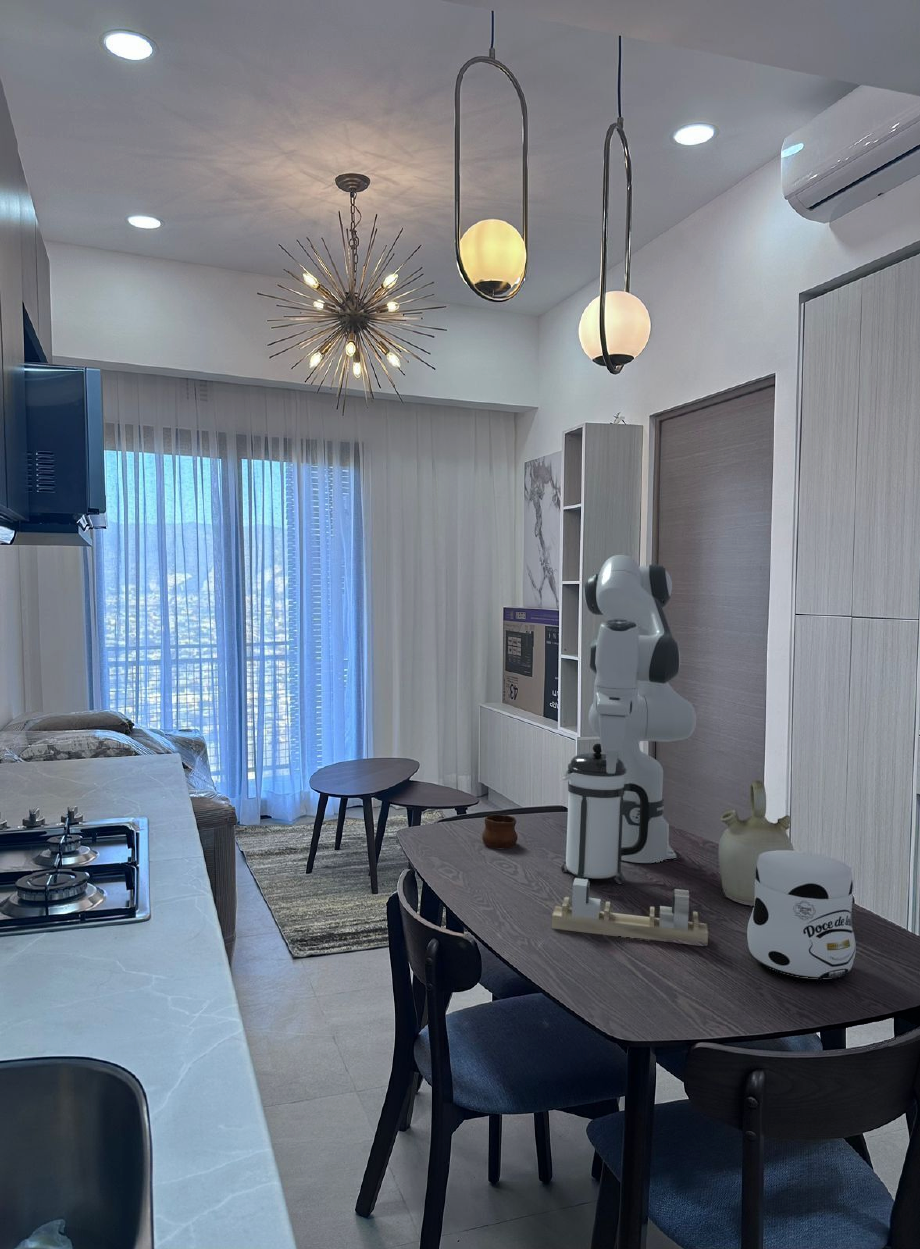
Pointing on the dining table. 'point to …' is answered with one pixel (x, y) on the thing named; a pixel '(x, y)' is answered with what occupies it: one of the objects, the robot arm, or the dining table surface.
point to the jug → (749, 844)
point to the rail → (638, 922)
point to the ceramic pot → (500, 831)
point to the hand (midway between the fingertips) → (612, 767)
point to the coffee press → (599, 817)
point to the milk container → (802, 915)
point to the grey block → (584, 901)
